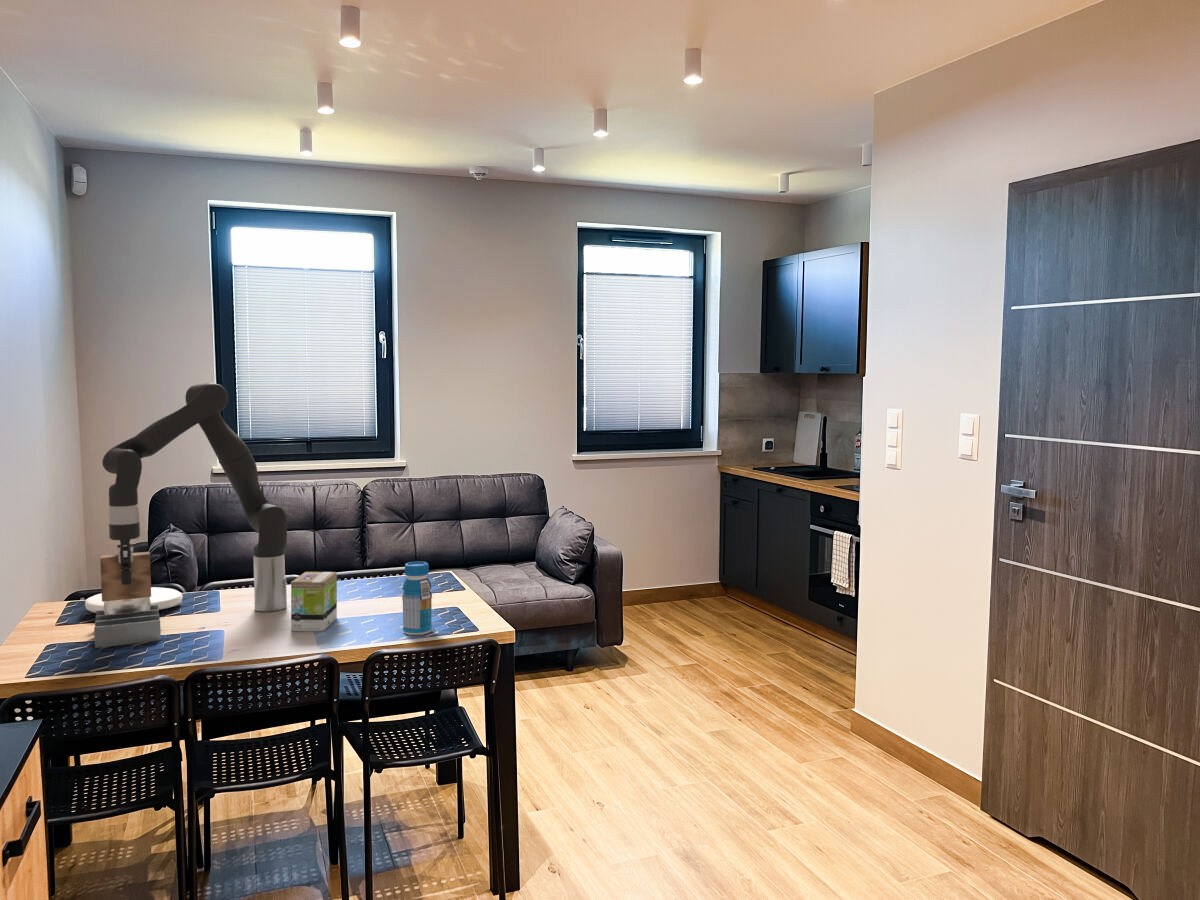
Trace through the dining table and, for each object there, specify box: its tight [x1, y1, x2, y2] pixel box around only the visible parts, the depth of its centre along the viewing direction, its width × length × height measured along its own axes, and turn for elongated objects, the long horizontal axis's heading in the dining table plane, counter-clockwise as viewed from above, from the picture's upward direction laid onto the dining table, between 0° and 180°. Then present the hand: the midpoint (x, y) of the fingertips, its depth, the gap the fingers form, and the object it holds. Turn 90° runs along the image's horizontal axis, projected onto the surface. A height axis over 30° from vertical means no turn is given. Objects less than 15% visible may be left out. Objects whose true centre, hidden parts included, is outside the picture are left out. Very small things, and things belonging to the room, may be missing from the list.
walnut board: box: [99, 551, 152, 602], centre depth 248 cm, size 12×4×12 cm, turn 118°
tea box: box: [290, 571, 338, 632], centre depth 265 cm, size 15×10×15 cm, turn 3°
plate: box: [84, 586, 184, 614], centre depth 283 cm, size 28×6×27 cm
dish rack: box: [93, 597, 162, 649], centre depth 254 cm, size 16×20×13 cm
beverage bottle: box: [401, 561, 433, 636], centre depth 258 cm, size 8×8×20 cm
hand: (126, 582), depth 248 cm, fingers closed on walnut board, 4 cm apart
